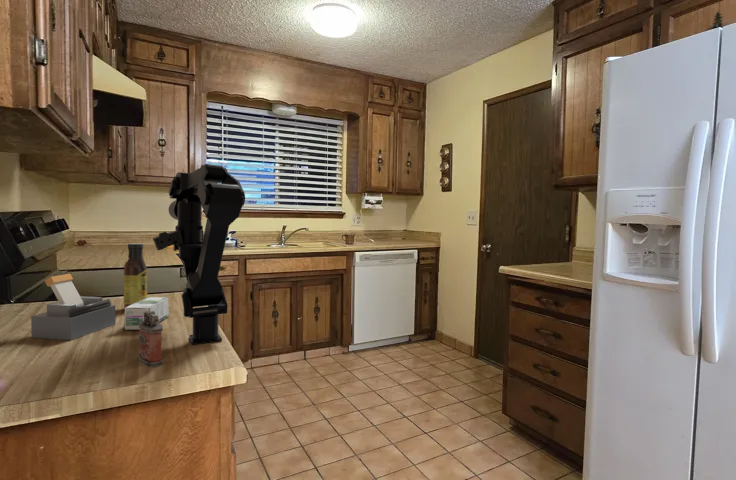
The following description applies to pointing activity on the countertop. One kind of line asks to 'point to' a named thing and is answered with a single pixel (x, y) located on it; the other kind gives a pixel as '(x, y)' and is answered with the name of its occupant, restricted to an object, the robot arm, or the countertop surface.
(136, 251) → the sauce bottle
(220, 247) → the robot arm
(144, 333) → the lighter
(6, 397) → the countertop surface
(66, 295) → the lever
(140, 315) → the syrup box
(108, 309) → the block
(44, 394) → the countertop surface
